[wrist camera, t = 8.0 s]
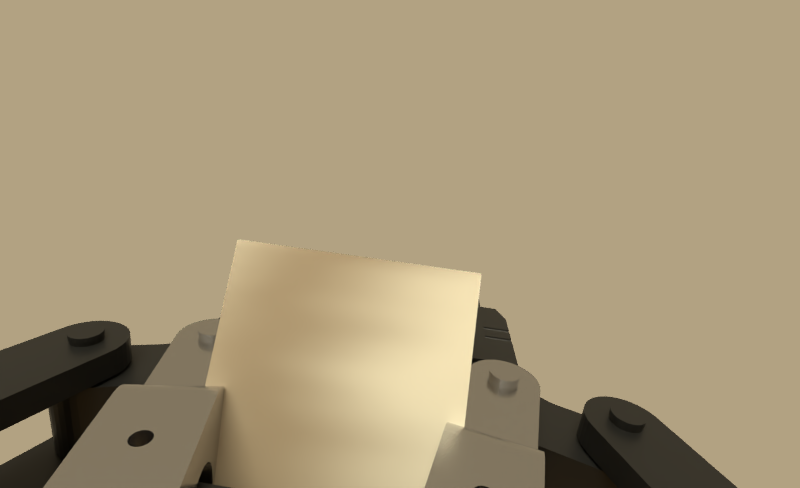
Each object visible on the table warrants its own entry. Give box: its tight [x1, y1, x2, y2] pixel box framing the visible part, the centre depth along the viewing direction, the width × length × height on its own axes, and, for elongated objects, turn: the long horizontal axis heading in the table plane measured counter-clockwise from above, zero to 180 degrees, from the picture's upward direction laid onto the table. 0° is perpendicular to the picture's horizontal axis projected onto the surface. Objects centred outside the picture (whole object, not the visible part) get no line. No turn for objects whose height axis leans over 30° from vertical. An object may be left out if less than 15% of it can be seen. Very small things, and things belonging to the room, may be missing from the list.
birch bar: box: [205, 239, 481, 488], centre depth 17 cm, size 4×23×4 cm, turn 179°
